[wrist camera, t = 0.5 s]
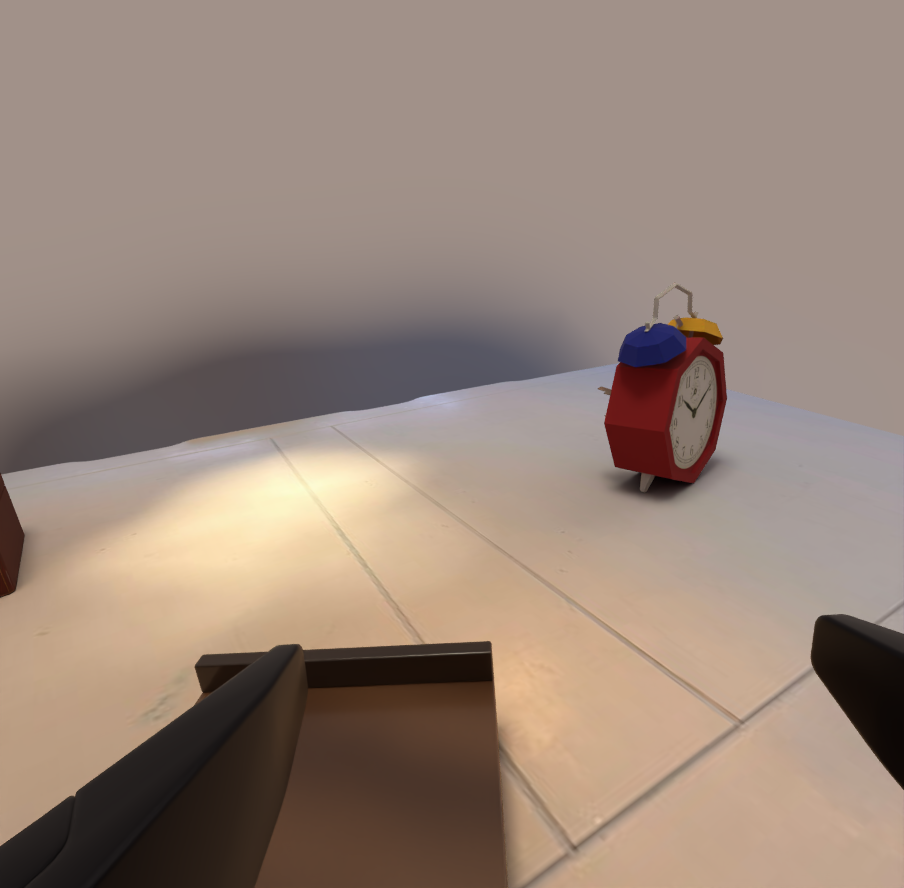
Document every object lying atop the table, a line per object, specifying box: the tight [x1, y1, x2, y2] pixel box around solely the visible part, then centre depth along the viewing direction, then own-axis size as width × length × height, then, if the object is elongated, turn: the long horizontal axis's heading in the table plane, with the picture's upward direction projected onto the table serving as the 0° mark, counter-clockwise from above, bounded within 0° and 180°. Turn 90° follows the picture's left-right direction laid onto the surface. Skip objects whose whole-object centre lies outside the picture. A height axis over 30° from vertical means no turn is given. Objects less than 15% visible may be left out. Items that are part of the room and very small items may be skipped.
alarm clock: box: [598, 283, 727, 492], centre depth 49 cm, size 15×9×20 cm, turn 132°
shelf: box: [195, 641, 508, 888], centre depth 19 cm, size 10×14×5 cm
